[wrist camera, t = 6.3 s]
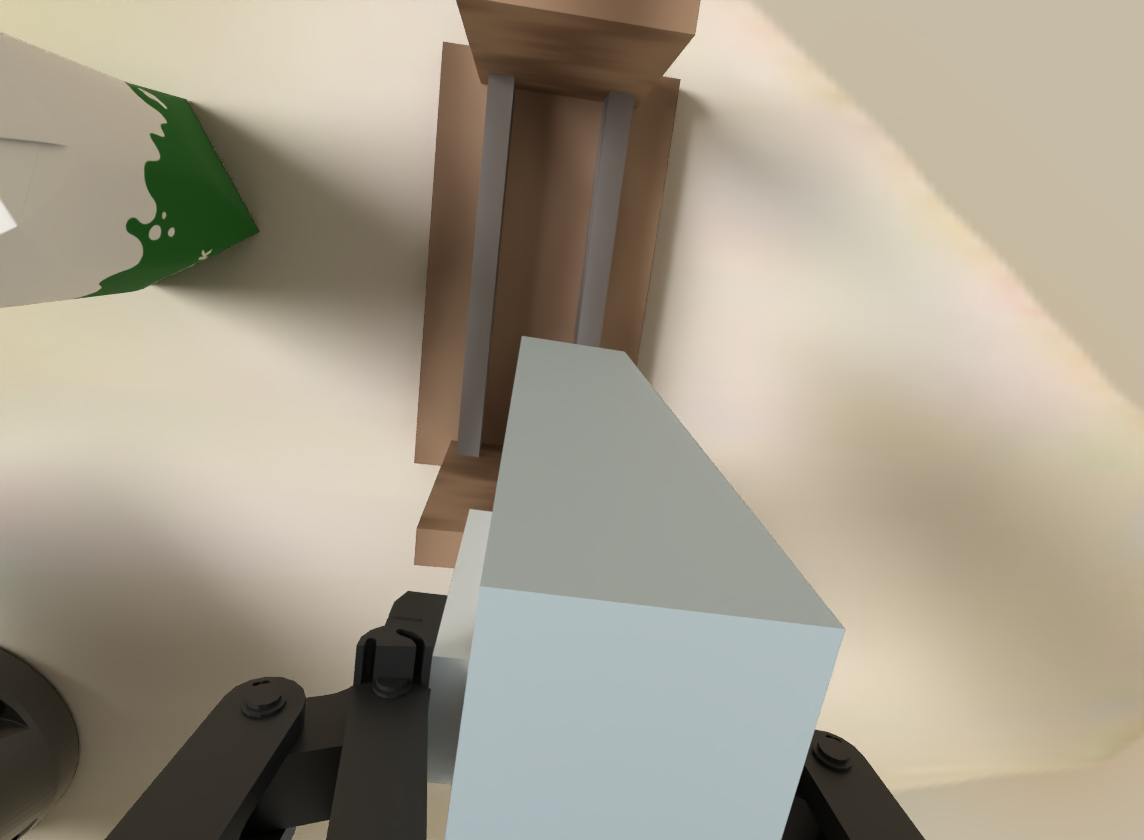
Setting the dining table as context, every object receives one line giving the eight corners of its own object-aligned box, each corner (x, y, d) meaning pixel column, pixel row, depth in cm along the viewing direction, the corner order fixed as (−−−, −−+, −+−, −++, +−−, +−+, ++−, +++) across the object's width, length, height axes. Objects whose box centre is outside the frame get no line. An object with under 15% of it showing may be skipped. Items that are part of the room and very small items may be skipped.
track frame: (418, 454, 39) (363, 560, 26) (446, 50, 33) (394, -73, 20) (615, 474, 40) (656, 584, 27) (674, 86, 35) (762, -10, 22)
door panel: (471, 692, 22) (360, 1443, 8) (521, 335, 19) (480, 585, 5) (560, 701, 22) (596, 1441, 8) (624, 351, 19) (844, 629, 5)
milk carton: (193, 73, 33) (-279, -166, 14) (285, 243, 35) (-7, 242, 16) (41, 146, 33) (-623, 12, 14) (142, 308, 36) (-308, 384, 16)
